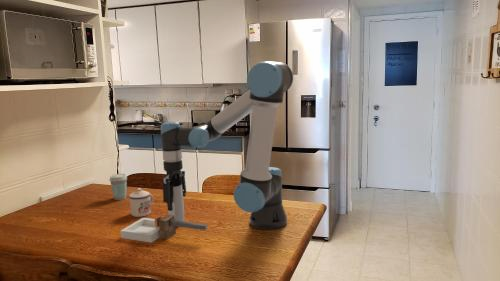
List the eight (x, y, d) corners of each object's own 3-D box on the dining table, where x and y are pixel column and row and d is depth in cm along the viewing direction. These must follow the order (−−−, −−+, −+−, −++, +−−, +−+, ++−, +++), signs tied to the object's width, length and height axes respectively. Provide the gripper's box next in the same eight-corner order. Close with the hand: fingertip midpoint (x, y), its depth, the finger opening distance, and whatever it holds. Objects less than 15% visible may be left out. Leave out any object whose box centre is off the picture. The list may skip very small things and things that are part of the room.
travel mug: (170, 227, 157) (166, 179, 153) (168, 221, 163) (165, 175, 160) (185, 225, 158) (182, 178, 155) (183, 219, 165) (180, 174, 161)
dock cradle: (172, 228, 156) (172, 221, 155) (151, 242, 143) (151, 235, 142) (143, 224, 161) (143, 217, 160) (121, 238, 148) (120, 230, 148)
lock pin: (208, 230, 143) (208, 220, 143) (204, 233, 140) (203, 224, 139) (160, 223, 151) (160, 215, 150) (155, 227, 148) (154, 218, 147)
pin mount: (175, 233, 151) (174, 215, 149) (167, 239, 145) (165, 220, 144) (168, 232, 152) (167, 214, 150) (160, 238, 146) (158, 219, 145)
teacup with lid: (140, 218, 168) (138, 192, 166) (126, 215, 173) (124, 190, 171) (160, 210, 178) (158, 185, 176) (147, 207, 183) (145, 183, 181)
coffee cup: (111, 197, 200) (109, 174, 198) (128, 195, 203) (126, 172, 200) (111, 202, 192) (108, 178, 190) (129, 199, 194) (126, 176, 192)
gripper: (177, 154, 166) (181, 206, 170) (150, 165, 149) (155, 222, 153) (192, 155, 164) (196, 207, 168) (167, 166, 146) (171, 224, 150)
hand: (176, 214), depth 160 cm, fingers closed on travel mug, 6 cm apart
